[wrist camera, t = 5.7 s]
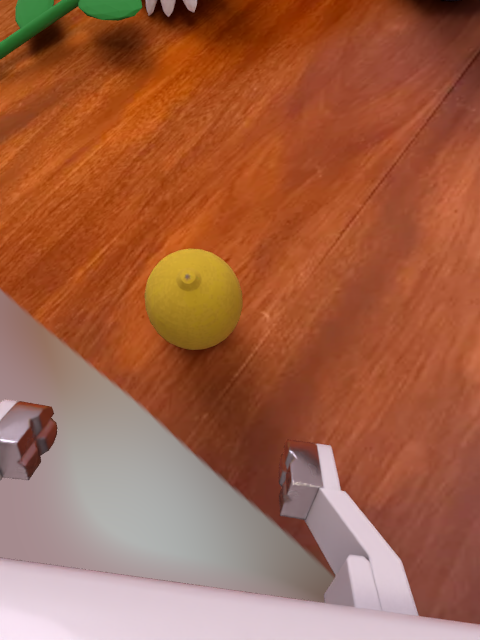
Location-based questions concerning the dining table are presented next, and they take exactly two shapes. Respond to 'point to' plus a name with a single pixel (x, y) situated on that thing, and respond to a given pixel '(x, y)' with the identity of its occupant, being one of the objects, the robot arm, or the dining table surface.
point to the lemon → (193, 299)
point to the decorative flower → (99, 3)
